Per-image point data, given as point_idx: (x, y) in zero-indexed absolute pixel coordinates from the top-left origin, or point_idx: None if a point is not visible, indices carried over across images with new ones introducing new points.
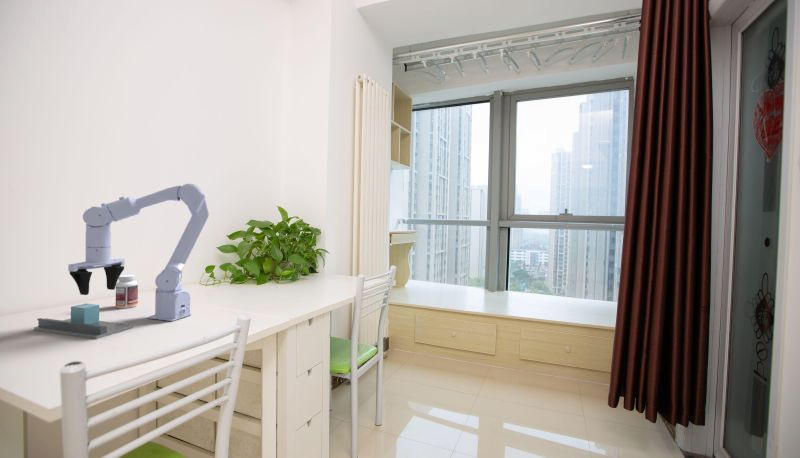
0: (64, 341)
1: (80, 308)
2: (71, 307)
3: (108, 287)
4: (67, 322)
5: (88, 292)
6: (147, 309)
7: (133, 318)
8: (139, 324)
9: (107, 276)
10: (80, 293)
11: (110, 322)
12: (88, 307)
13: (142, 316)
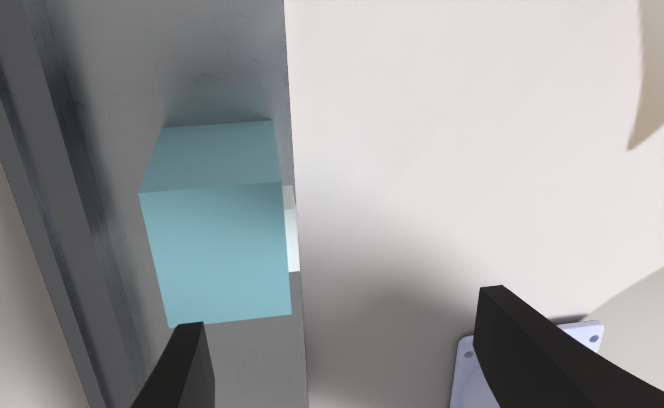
0: (6, 364)
1: (161, 289)
2: (140, 196)
3: (486, 317)
4: (55, 296)
5: (212, 402)
6: (659, 153)
7: (445, 270)
8: (361, 384)
9: (573, 404)
10: (174, 335)
11: (296, 302)
12: None
13: (495, 274)
